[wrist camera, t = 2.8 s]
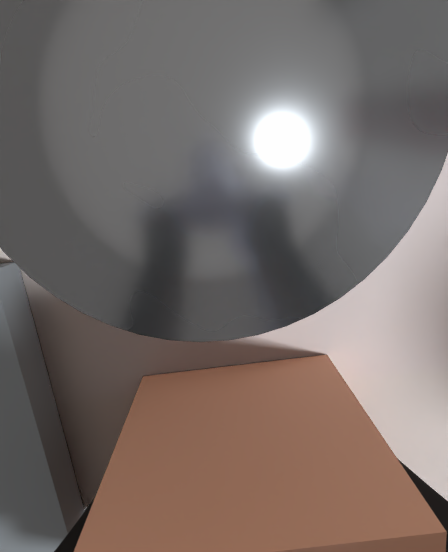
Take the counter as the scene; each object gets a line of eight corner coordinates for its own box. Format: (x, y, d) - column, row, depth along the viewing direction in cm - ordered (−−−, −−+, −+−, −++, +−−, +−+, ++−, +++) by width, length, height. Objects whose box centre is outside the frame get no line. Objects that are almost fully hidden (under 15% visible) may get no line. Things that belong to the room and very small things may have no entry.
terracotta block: (334, 503, 11) (435, 771, 6) (171, 522, 11) (133, 803, 6) (326, 354, 9) (446, 531, 4) (143, 376, 9) (63, 575, 5)
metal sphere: (321, 244, 9) (454, 313, 4) (123, 268, 9) (5, 366, 4) (309, 16, 7) (482, -308, 3) (79, 44, 8) (-170, -221, 3)
